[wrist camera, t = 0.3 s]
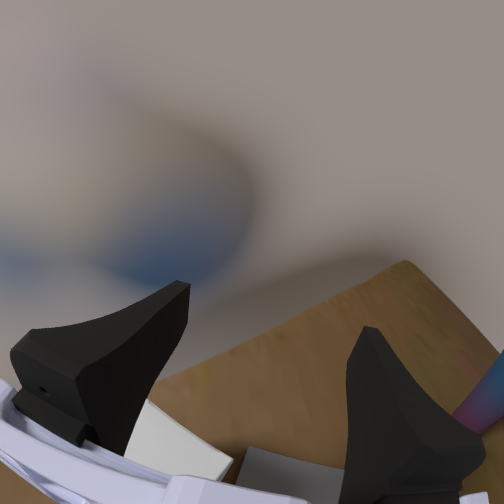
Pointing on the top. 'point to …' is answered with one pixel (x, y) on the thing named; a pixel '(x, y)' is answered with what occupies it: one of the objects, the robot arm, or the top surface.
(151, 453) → the small box
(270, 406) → the top surface
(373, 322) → the top surface
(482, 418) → the cup
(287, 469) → the display mat
